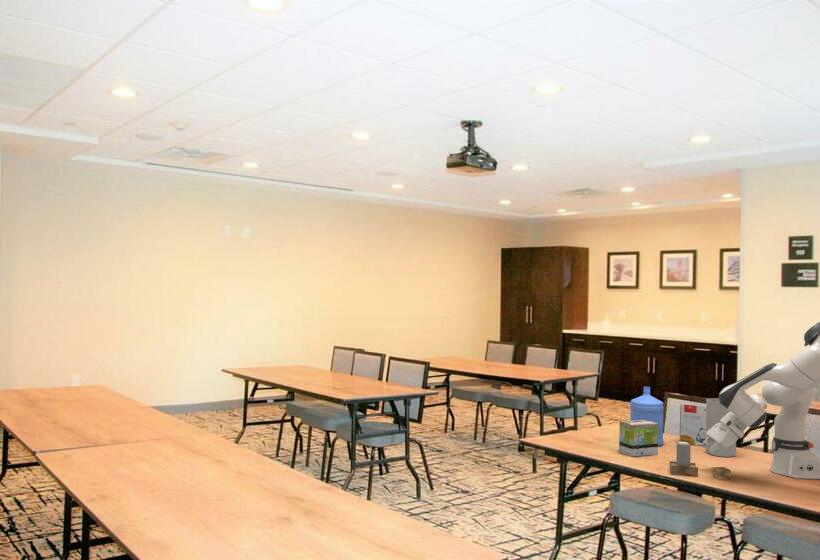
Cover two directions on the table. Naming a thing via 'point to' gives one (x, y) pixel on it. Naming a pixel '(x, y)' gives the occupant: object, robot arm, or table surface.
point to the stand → (683, 469)
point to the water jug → (648, 411)
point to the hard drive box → (692, 423)
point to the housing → (683, 454)
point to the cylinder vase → (713, 417)
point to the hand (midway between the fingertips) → (706, 448)
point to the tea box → (638, 438)
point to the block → (721, 473)
